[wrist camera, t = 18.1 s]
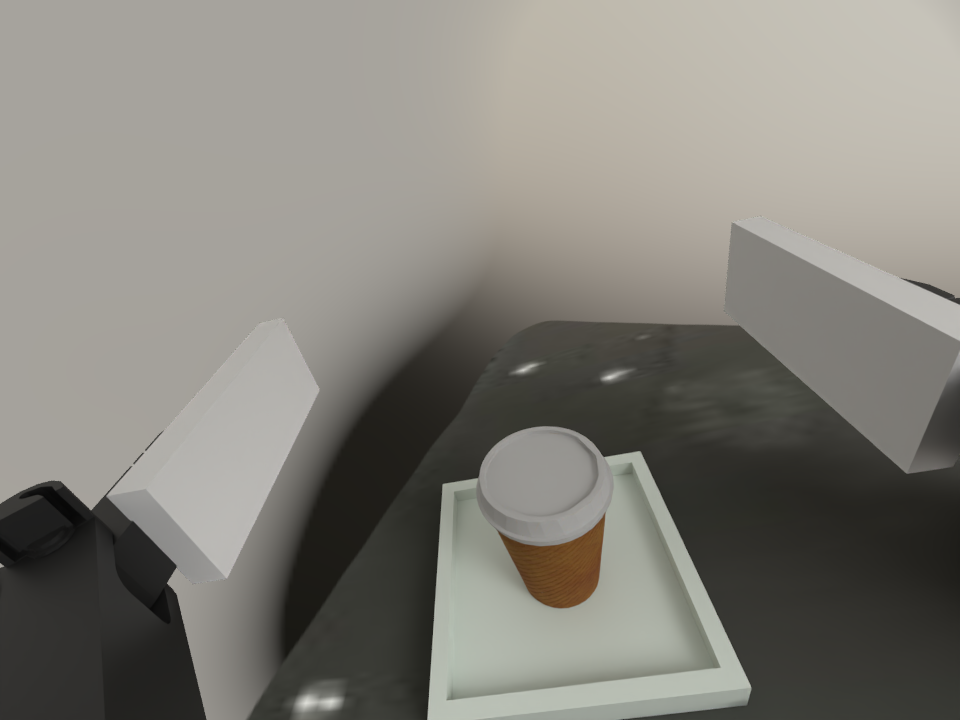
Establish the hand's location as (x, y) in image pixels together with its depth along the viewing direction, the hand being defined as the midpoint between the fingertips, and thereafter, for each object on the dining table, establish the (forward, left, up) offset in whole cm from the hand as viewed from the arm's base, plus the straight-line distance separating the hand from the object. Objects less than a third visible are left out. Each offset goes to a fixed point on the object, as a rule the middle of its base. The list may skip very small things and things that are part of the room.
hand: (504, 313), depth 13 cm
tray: (-8, -6, -30) cm, 31 cm away
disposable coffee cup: (-8, -6, -29) cm, 31 cm away
